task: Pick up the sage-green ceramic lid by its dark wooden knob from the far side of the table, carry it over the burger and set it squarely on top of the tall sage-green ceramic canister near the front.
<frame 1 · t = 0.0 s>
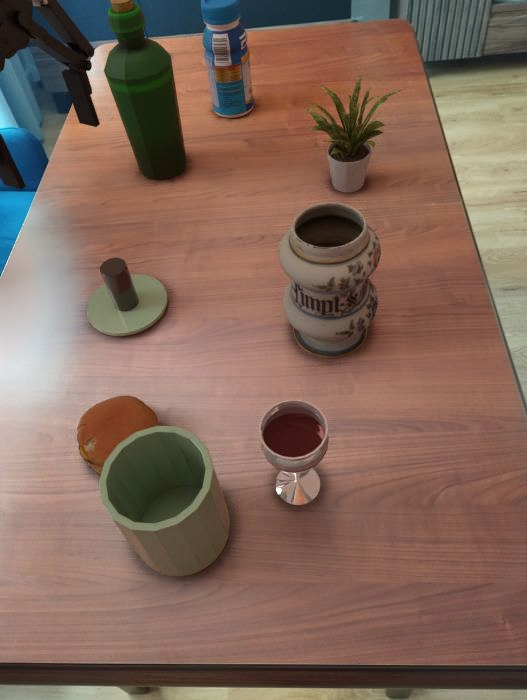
hand: (54, 153, 70), 23 cm above the table, tool pointing down, fingers open, 13 cm apart
lid: (127, 305, 84), point 1 cm above the table
apothecary jar: (329, 330, 79), on the table
wineglass: (297, 484, 65), on the table
bottle: (164, 168, 106), on the table
beverage bottle: (234, 109, 116), on the table
canister: (182, 527, 63), on the table
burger: (124, 445, 70), on the table
house plant: (353, 180, 99), on the table
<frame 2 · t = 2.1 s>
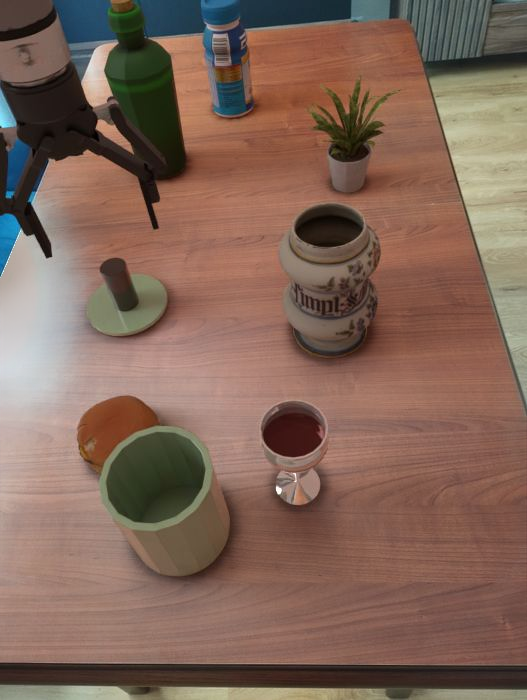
hand: (102, 237, 74), 13 cm above the table, tool pointing down, fingers open, 13 cm apart
nothing on the table moved.
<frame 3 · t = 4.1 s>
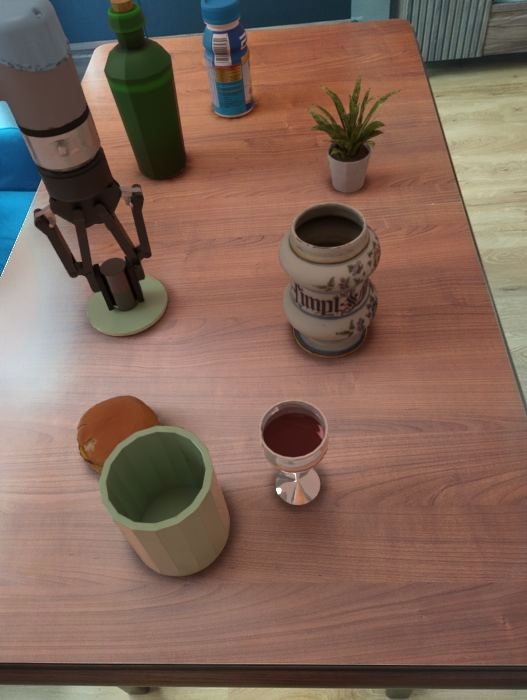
hand: (125, 299, 83), 2 cm above the table, tool pointing down, fingers closed on lid, 4 cm apart
lid: (127, 305, 84), point 1 cm above the table, touching gripper
everything else where it was.
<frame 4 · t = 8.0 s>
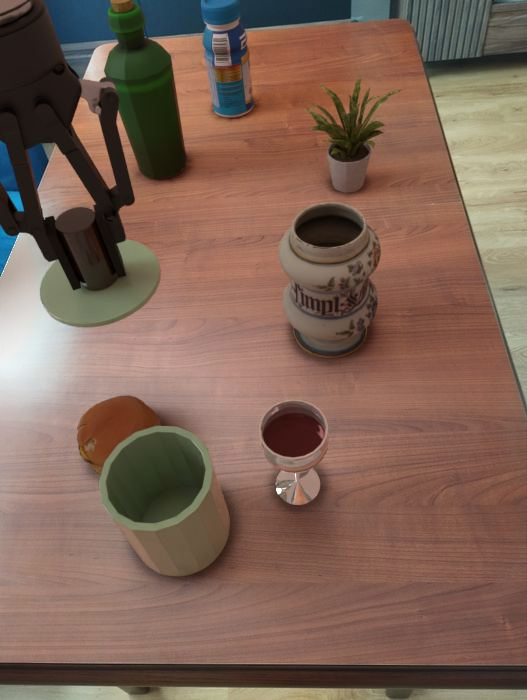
hand: (97, 273, 55), 23 cm above the table, tool pointing down, fingers closed on lid, 4 cm apart
lid: (101, 282, 56), point 22 cm above the table, touching gripper
everything else where it was.
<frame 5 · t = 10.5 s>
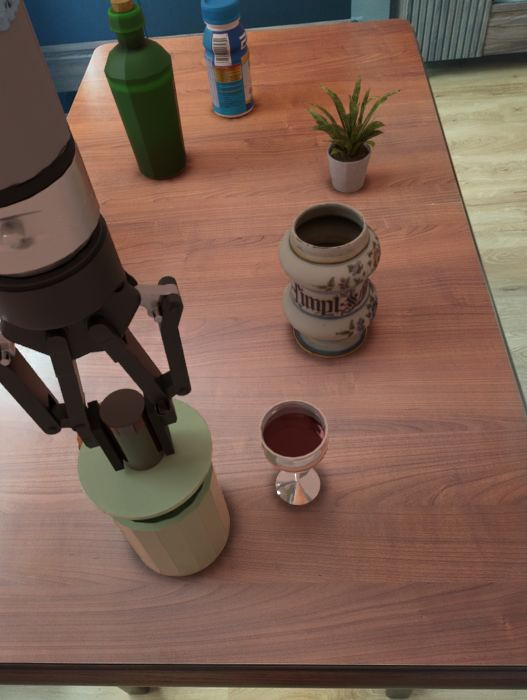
hand: (142, 448, 49), 18 cm above the table, tool pointing down, fingers closed on lid, 4 cm apart
lid: (146, 455, 50), point 16 cm above the table, touching gripper
everything else where it was.
when the fingers open (14 cm above the table, at t = 12.0 s): lid stays where it is, resting on canister.
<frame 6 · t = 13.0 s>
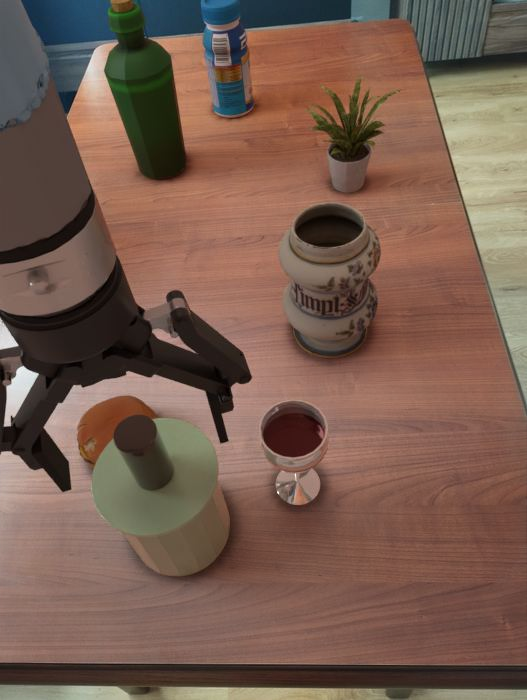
hand: (144, 453, 50), 17 cm above the table, tool pointing down, fingers open, 13 cm apart
lid: (156, 475, 53), point 12 cm above the table, touching canister
everything else where it was.
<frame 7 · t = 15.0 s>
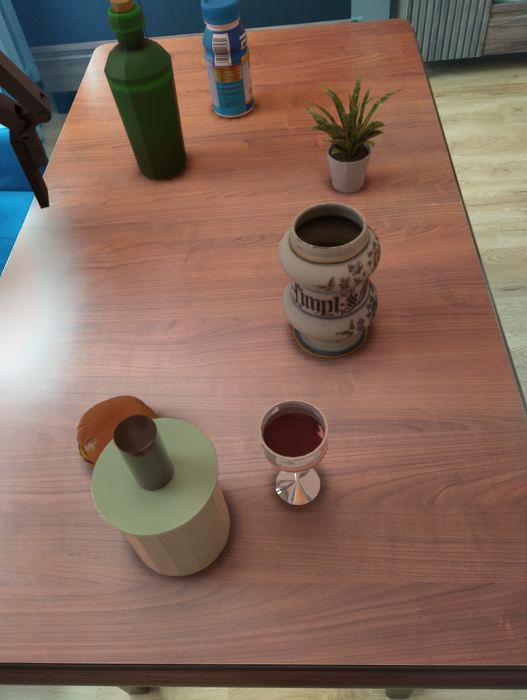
nothing on the table moved.
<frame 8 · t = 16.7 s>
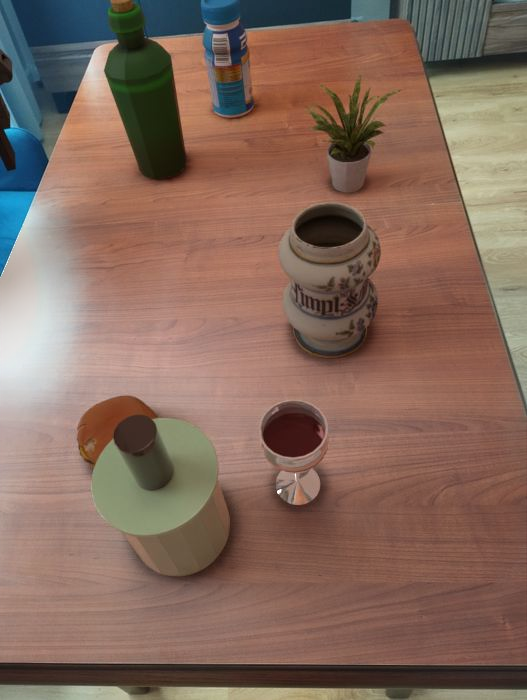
nothing on the table moved.
at the end: lid 0.0 cm off-centre on the canister, point 12.5 cm above the canister's base; lid tilted 0° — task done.
